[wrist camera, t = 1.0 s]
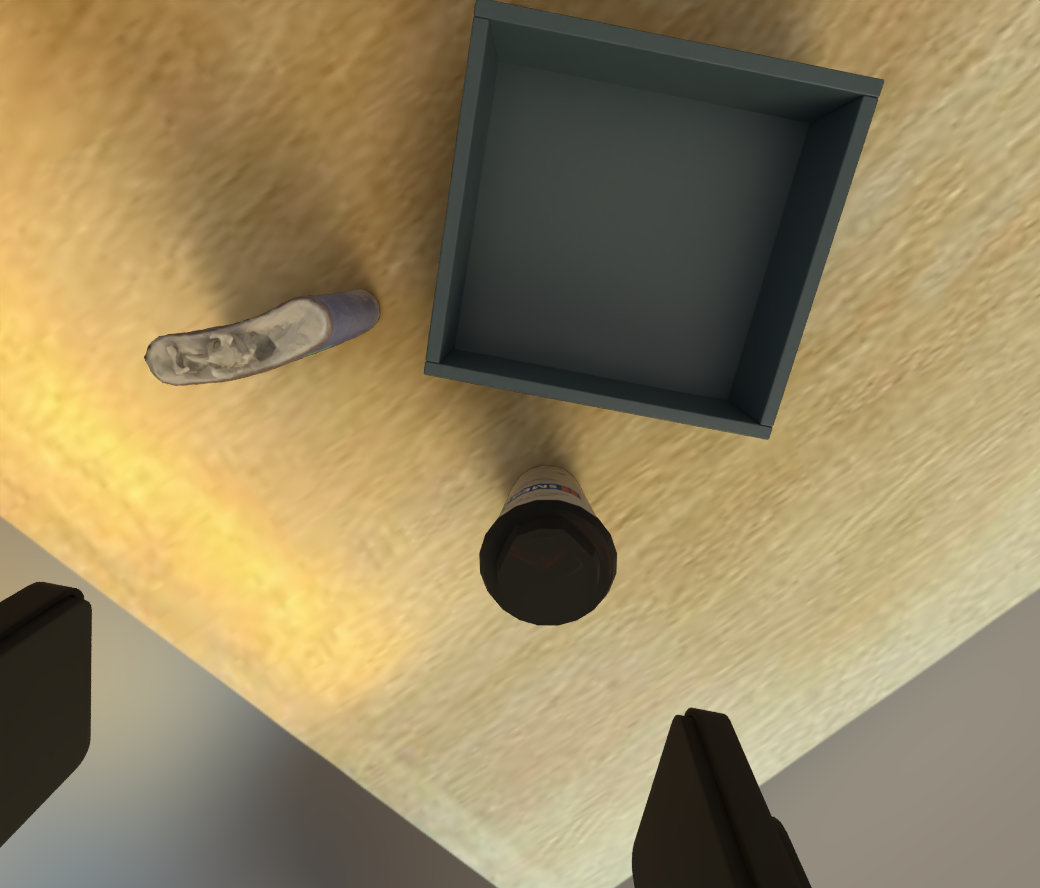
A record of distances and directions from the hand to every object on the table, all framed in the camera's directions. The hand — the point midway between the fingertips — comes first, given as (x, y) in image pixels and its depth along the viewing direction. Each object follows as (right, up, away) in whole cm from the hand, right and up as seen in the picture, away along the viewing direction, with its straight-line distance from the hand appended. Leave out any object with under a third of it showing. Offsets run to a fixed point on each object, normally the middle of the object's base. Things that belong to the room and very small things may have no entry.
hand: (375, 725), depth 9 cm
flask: (-10, +11, +26) cm, 30 cm away
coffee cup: (+4, +1, +29) cm, 29 cm away
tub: (+8, +16, +24) cm, 30 cm away
